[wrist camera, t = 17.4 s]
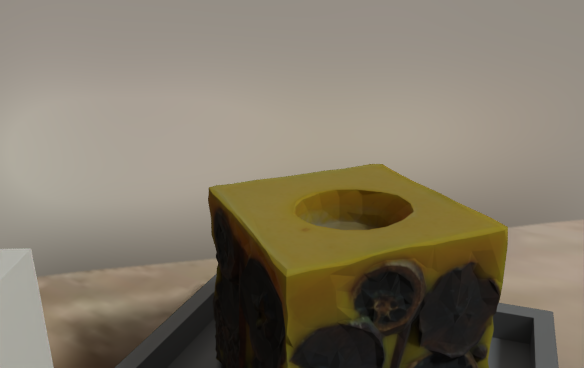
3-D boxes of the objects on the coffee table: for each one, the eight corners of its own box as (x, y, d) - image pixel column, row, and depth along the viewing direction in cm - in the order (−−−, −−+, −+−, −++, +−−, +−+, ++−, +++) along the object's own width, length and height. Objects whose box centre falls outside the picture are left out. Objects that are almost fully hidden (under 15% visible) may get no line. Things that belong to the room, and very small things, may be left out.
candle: (213, 358, 30) (199, 185, 27) (374, 316, 34) (378, 159, 30) (282, 509, 21) (273, 276, 18) (491, 429, 25) (515, 223, 21)
